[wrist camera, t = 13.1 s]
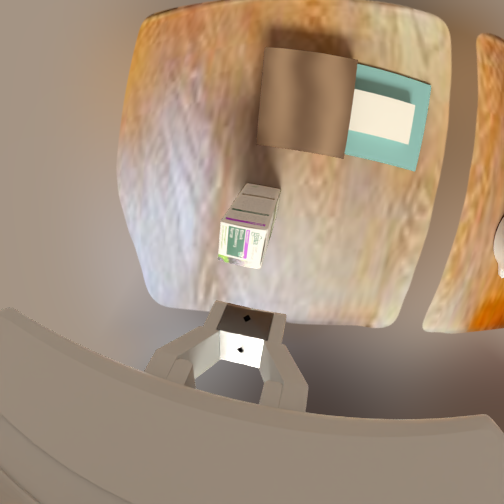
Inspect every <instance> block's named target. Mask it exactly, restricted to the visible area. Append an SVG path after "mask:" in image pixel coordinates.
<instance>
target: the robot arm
mask: <svg viewBox="0 0 504 504" xmlns="http://www.w3.org/2000/svg"><path fill="white" fill-rule="evenodd" d="M494 254H495V258H496V260H497V262H498V274H499V276H500V277H501V278H504V217H503V219H502V221H501V222H500V224H499V226H498V229H497V232H496V235H495V239H494ZM285 322H286V314H281V313H274V312H269V311H264V310H259V309H253V308H248V307H244V306H239V305H235V304H231V303H226V302H222V301H218V300H216V301H215V302H214V304H213V307H212V309H211V311H210V313H209V315H208V317H207V319H206V322H205V323H204V325H203V327H202V326H199V327H197V328H195V329H193V330H192V331H190V332H188V333H186V334H184V335H183V336H181V337H179V338H177V339H175V340H174V341H172V342H170V343H168V344H166V345H164V346H163V347H161V348H159V349H157V350H156V351H155V353H154V355H153V356H152V358H151V360H150V362H149V363H148V365H147V367H146V369H145V370H144V372H143V371H140V370H138V369H135V368H131V367H130V366H127V365H125V364H122V363H120V362H117V361H115V360H112V359H110V358H108V357H106V356H103V355H101V354H99V353H96V352H94V351H92V350H90V349H88V348H86V347H83V346H81V345H79V344H77V343H75V342H73V341H71V340H69V339H67V338H65V337H63V336H61V335H59V334H57V333H56V332H54V331H52V330H50V329H48V328H46V327H44V326H43V325H41V324H39V323H37V322H36V321H34V320H32V319H30V318H29V317H27V316H25V315H24V314H22V313H21V312H19V311H17V310H16V309H14V308H10V307H9V308H5V309H1V310H0V504H504V433H503V432H502V431H501V429H500V428H499V427H498V426H497V424H496V423H495V422H494V421H493V420H492V419H491V418H490V417H489V416H488V415H485V414H481V415H472V416H463V417H451V418H436V419H399V420H398V419H368V418H352V417H339V416H330V415H321V414H313V413H306V412H305V411H306V403H307V394H308V385H307V383H306V381H305V379H304V378H303V376H302V374H301V372H300V371H299V369H298V367H297V365H296V364H295V362H294V360H293V358H292V356H291V355H290V353H289V351H288V349H287V348H286V346H285V345H284V344H281V343H282V338H283V333H284V327H285ZM219 359H224V360H228V361H233V362H238V363H242V364H246V365H251V366H255V367H258V368H259V370H260V373H261V376H262V378H263V381H264V387H263V391H262V394H261V398H260V403H259V404H254V403H249V402H244V401H240V400H236V399H231V398H227V397H224V396H219V395H216V394H212V393H208V392H205V391H201V390H198V389H196V385H195V378H197V377H198V376H199V375H201V374H202V373H203V372H204V371H206V370H207V369H208V368H210V367H211V366H212V365H214V364H215V363H216V362H217V361H219Z"/></svg>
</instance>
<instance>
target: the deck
mask: <svg viewBox="0 0 504 504" xmlns="http://www.w3.org/2000/svg"><path fill="white" fill-rule="evenodd" d="M357 63H358V60H355V59H350V58H345V57H340V56H335V55H329V54H323V53H317V52H310V51H303V50H294V49H284V48H272V47H265V51H264V62H263V73H262V84H261V95H260V106H259V117H258V129H257V140H256V145H263V146H271V147H278V148H285V149H292V150H298V151H304V152H310V153H316V154H321V155H327V156H332V157H337V158H342V159H344V154H345V148H346V142H347V136H348V130H349V124H350V118H351V111H352V104H353V96H354V89H355V81H356V72H357Z"/></svg>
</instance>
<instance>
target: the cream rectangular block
mask: <svg viewBox="0 0 504 504" xmlns="http://www.w3.org/2000/svg"><path fill="white" fill-rule="evenodd" d="M414 111H415V105H413V104H410V103H407V102H403V101H400V100H397V99H393V98H389V97H386V96H382V95H378V94H374V93H370V92H366V91H362V90H357V89H354V96H353V104H352V111H351V118H350V124H349V130H352V131H357V132H361V133H365V134H370V135H374V136H378V137H382V138H386V139H390V140H393V141H397V142H401V143H404V144H409V139H410V134H411V128H412V123H413V117H414Z"/></svg>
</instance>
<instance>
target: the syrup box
mask: <svg viewBox="0 0 504 504" xmlns="http://www.w3.org/2000/svg"><path fill="white" fill-rule="evenodd" d="M280 192H281V190H280V189H277V188H272V187H267V186H261V185H256V184H250V183H247V184H246V185H245V186H244V188H243V189H242V191H241V192H240V193H239V195H238V196H237V198H236V199H235V201H234V202H233V204H232V205H231V207H230V208H229V209H228V211H227V212H226V214H225V215H224V217H223V218H222V220H221V225H220V236H219V250H218V260H220V261H224V262H227V263H231V264H235V265H239V266H245V267H250V268H257V269H260V268H261V265H262V262H263V259H264V256H265V253H266V250H267V246H268V243H269V240H270V236H271V233H272V230H273V227H274V223H275V220H276V215H277V209H278V203H279V198H280Z"/></svg>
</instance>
